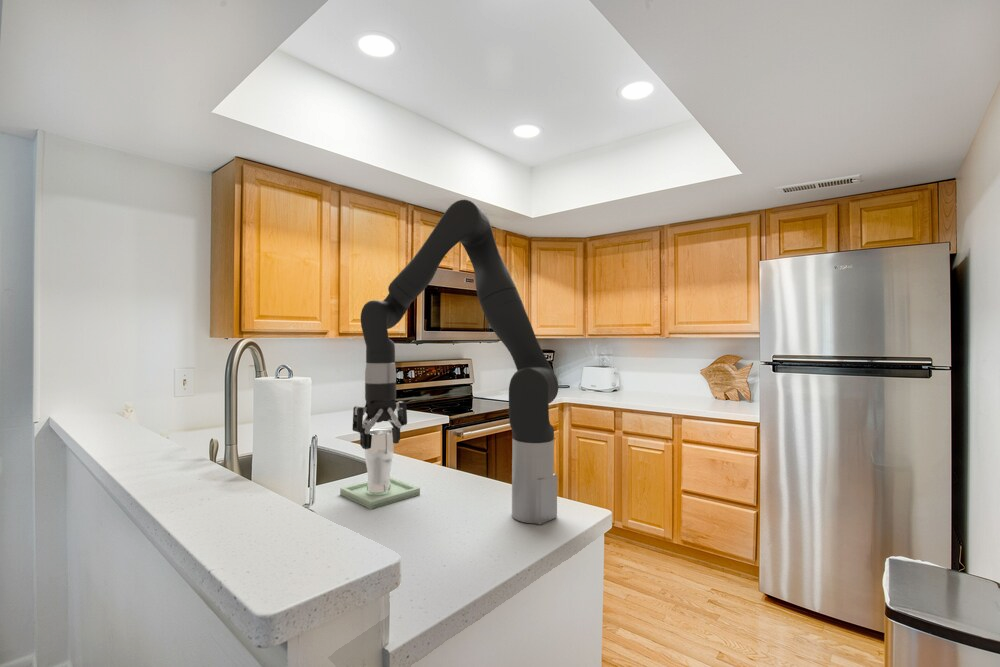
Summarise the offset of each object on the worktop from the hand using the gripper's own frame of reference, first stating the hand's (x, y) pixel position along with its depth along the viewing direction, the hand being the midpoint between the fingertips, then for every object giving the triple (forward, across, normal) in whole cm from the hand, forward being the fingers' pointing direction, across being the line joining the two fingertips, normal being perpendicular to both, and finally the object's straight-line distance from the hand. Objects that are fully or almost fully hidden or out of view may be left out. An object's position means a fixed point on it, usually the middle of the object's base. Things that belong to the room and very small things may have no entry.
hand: (380, 445), depth 119 cm
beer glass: (+12, 0, 0) cm, 12 cm away
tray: (+12, 0, 0) cm, 12 cm away
